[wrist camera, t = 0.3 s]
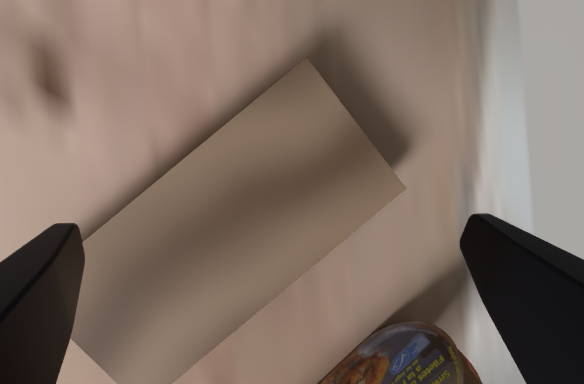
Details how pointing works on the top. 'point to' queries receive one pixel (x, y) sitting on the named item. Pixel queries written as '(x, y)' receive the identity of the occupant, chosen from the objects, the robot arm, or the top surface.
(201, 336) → the stand
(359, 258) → the top surface
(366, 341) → the tin
